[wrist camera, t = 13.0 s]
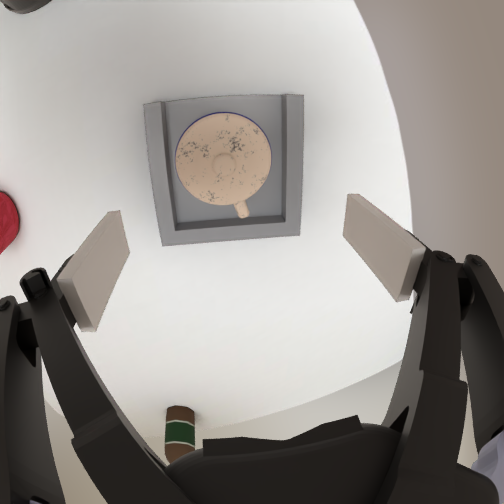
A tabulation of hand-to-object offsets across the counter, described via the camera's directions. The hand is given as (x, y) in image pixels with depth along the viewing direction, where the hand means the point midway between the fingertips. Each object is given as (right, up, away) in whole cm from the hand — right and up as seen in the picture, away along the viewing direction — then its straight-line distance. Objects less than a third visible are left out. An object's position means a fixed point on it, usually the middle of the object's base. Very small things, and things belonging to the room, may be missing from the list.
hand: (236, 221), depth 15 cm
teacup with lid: (-2, +10, +18) cm, 20 cm away
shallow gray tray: (-2, +9, +19) cm, 21 cm away
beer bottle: (-18, -43, +47) cm, 66 cm away
